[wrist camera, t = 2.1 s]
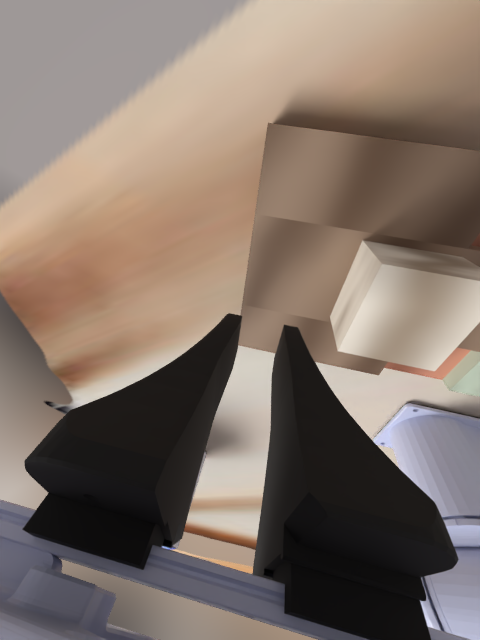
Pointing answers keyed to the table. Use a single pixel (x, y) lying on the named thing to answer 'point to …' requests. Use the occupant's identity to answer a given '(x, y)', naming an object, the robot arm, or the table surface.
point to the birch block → (406, 305)
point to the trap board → (353, 234)
